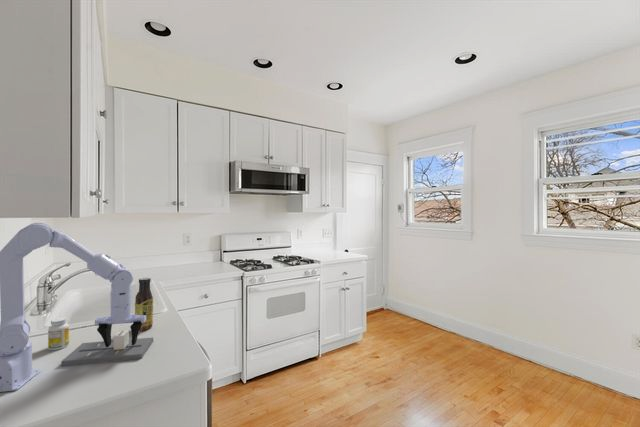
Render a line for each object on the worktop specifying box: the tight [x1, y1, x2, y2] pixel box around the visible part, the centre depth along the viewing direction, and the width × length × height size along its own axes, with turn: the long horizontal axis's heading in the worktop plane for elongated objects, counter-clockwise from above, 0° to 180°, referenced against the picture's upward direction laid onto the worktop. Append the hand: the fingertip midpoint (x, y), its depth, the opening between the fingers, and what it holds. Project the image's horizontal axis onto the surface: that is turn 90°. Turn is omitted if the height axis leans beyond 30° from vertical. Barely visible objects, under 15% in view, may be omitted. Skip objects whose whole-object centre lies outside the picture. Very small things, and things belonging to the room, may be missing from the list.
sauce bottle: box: [134, 277, 154, 332], centre depth 118 cm, size 6×6×20 cm
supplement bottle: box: [47, 316, 70, 351], centre depth 102 cm, size 5×5×10 cm
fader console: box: [60, 336, 154, 367], centre depth 99 cm, size 12×22×2 cm, turn 103°
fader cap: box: [113, 330, 130, 350], centre depth 100 cm, size 4×3×5 cm
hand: (121, 344), depth 100 cm, fingers open, 7 cm apart
